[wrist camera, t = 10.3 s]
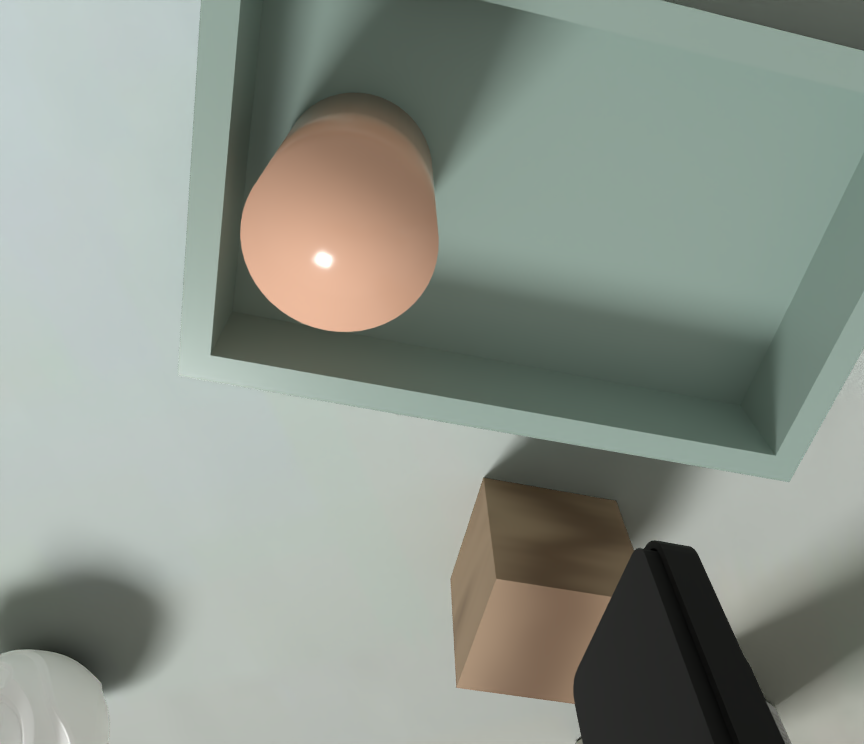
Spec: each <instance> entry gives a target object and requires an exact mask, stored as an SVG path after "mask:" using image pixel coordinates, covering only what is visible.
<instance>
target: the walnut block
mask: <svg viewBox="0 0 864 744" xmlns="http://www.w3.org/2000/svg"><path fill="white" fill-rule="evenodd" d="M633 552H634V550H633V547H632V544H631V541H630V538H629V536H628V533H627V530H626V527H625V524H624V522H623V519H622V516H621V513H620V510H619V508H618V505H617V502H616V501H614V500H609V499H603V498H597V497H591V496H586V495H580V494H574V493H569V492H563V491H557V490H552V489H546V488H540V487H534V486H529V485H523V484H517V483H512V482H506V481H500V480H494V479H489V478H483V481H482V484H481V487H480V490H479V493H478V496H477V499H476V502H475V505H474V508H473V511H472V514H471V518H470V521H469V524H468V527H467V530H466V533H465V536H464V539H463V542H462V545H461V548H460V551H459V554H458V558H457V561H456V564H455V567H454V570H453V573H452V576H451V596H452V614H453V633H454V651H455V669H456V688H463V689H470V690H477V691H485V692H492V693H499V694H506V695H514V696H521V697H528V698H536V699H543V700H550V701H558V702H565V703H572V704H575V702H574V696H573V684H574V677H575V673H576V671H577V668H578V666H579V664H580V662H581V660H582V658H583V656H584V654H585V652H586V649H587V647H588V645H589V643H590V641H591V639H592V637H593V635H594V633H595V631H596V628H597V626H598V624H599V622H600V620H601V618H602V616H603V614H604V612H605V610H606V607H607V605H608V603H609V601H610V599H611V597H612V595H613V593H614V591H615V589H616V586H617V584H618V582H619V580H620V578H621V576H622V574H623V572H624V570H625V568H626V566H627V563H628V561H629V559H630V557H631V555H632V553H633Z"/></svg>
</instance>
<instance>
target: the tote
mask: <svg viewBox="0 0 864 744" xmlns="http://www.w3.org/2000/svg"><path fill="white" fill-rule="evenodd" d="M342 93H366V94H372V95H375V96H378V97H381V98H384V99H386V100H388V101H390V102H392V103H394V104H395V105H397V106H399V107H400V108H401V109H402V110H404V111H405V112H406V113H407V114H408V115H409V116H410V117H411V118H412V119H413V120H414V121H415V123H416V124H417V125H418V127H419V128H420V129H421V131H422V133H423V135H424V137H425V139H426V141H427V144H428V146H429V150H430V154H431V158H432V167H433V178H434V190H435V201H436V213H437V224H438V236H439V247H438V256H437V262H436V266H435V269H434V272H433V275H432V277H431V279H430V281H429V284H428V285H427V287H426V289H425V290H424V292H423V293H422V295H421V296H420V297H419V298H418V299H417V301H416V302H415V303H414V304H413V305H412V306H411V307H410V308H409V309H407V310H406V311H405V312H404V313H402V314H401V315H399V316H398V317H397V318H395V319H393V320H391V321H389V322H387V323H385V324H383V325H380V326H377V327H375V328H371V329H366V330H362V331H353V332H336V331H327V330H323V329H318V328H314V327H311V326H309V325H306V324H303V323H301V322H299V321H297V320H295V319H293V318H291V317H290V316H288V315H287V314H285V313H284V312H282V311H281V310H279V309H278V308H277V307H276V306H275V305H273V304H272V303H271V302H270V301H269V300H268V299H267V298H266V296H265V295H264V294H263V293H262V292H261V290H260V289H259V288H258V286H257V285H256V284H255V282H254V280H253V278H252V276H251V275H250V273H249V270H248V268H247V265H246V263H245V260H244V256H243V252H242V247H241V238H240V231H241V219H242V213H243V209H244V206H245V203H246V200H247V198H248V196H249V194H250V192H251V190H252V188H253V186H254V185H255V183H256V182H257V180H258V179H259V177H260V176H261V174H262V173H263V171H264V170H265V168H266V167H267V165H268V163H269V162H270V160H271V159H272V157H273V156H274V154H275V153H276V151H277V150H278V148H279V147H280V145H281V144H282V142H283V141H284V139H285V138H286V136H287V134H288V133H289V131H290V130H291V128H292V127H293V125H294V124H295V122H296V121H297V120H298V118H299V117H300V116H301V115H302V114H303V113H304V112H305V111H306V110H307V109H309V108H310V107H311V106H312V105H314V104H316V103H317V102H319V101H321V100H323V99H325V98H328V97H330V96H333V95H337V94H342ZM863 349H864V51H862V50H858V49H854V48H850V47H846V46H842V45H838V44H834V43H830V42H826V41H822V40H818V39H814V38H810V37H806V36H802V35H798V34H794V33H790V32H786V31H782V30H778V29H774V28H770V27H766V26H762V25H758V24H754V23H750V22H746V21H742V20H738V19H734V18H730V17H726V16H722V15H718V14H714V13H710V12H706V11H702V10H698V9H694V8H690V7H686V6H682V5H678V4H674V3H670V2H666V1H662V0H201V9H200V25H199V41H198V57H197V73H196V89H195V105H194V121H193V137H192V153H191V169H190V185H189V201H188V217H187V233H186V249H185V265H184V281H183V297H182V313H181V329H180V345H179V361H178V376H181V377H187V378H192V379H198V380H204V381H210V382H215V383H221V384H227V385H233V386H238V387H244V388H250V389H256V390H261V391H267V392H273V393H279V394H284V395H290V396H296V397H302V398H307V399H313V400H319V401H325V402H331V403H336V404H342V405H348V406H354V407H359V408H365V409H371V410H377V411H382V412H388V413H394V414H400V415H405V416H411V417H417V418H423V419H428V420H434V421H440V422H446V423H451V424H457V425H463V426H469V427H474V428H480V429H486V430H492V431H497V432H503V433H509V434H515V435H521V436H526V437H532V438H538V439H544V440H549V441H555V442H561V443H567V444H572V445H578V446H584V447H590V448H595V449H601V450H607V451H613V452H618V453H624V454H630V455H636V456H641V457H647V458H653V459H659V460H664V461H670V462H676V463H682V464H688V465H693V466H699V467H705V468H711V469H716V470H722V471H728V472H734V473H739V474H745V475H751V476H757V477H762V478H768V479H774V480H780V481H785V482H790V480H791V478H792V476H793V475H794V473H795V471H796V469H797V467H798V466H799V464H800V462H801V460H802V458H803V457H804V455H805V453H806V451H807V449H808V448H809V446H810V444H811V442H812V440H813V439H814V437H815V435H816V433H817V431H818V430H819V428H820V426H821V424H822V422H823V421H824V419H825V417H826V415H827V413H828V412H829V410H830V408H831V406H832V404H833V403H834V401H835V399H836V397H837V395H838V394H839V392H840V390H841V388H842V386H843V385H844V383H845V381H846V379H847V377H848V376H849V374H850V372H851V370H852V369H853V367H854V365H855V363H856V361H857V360H858V358H859V356H860V354H861V352H862V351H863Z"/></svg>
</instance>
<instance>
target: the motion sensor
mask: <svg viewBox="0 0 864 744" xmlns="http://www.w3.org/2000/svg"><path fill="white" fill-rule="evenodd" d="M109 733H110V719H109V712H108V707H107V704H106V700H105V698H104V695H103V692H102V684H101V682H100V681H99V680H98V679H97V678H96V677H95V676H94V675H93V674H92V673H91V672H90V671H89V670H88V669H86V668H85V667H84V666H83V665H81V664H80V663H79V662H77V661H75V660H74V659H72V658H69V657H67V656H65V655H62V654H58V653H55V652H50V651H43V650H31V649H23V650H13V651H8V652H5V653H2V654H0V744H108V742H109Z"/></svg>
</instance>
